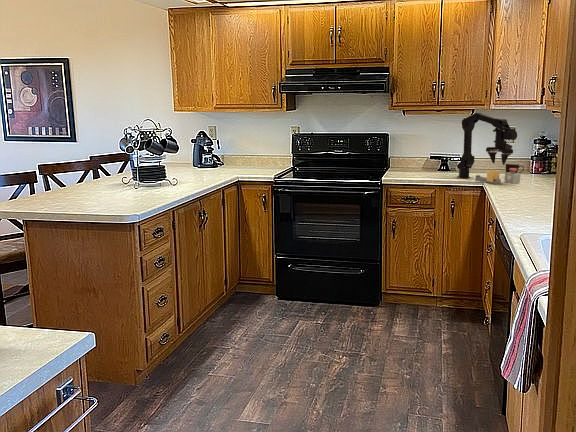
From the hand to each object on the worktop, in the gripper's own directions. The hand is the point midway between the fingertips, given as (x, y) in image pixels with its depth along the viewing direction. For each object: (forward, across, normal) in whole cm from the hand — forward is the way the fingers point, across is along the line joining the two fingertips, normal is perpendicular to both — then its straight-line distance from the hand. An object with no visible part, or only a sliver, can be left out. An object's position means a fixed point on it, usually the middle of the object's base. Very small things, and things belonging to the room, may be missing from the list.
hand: (498, 164), depth 375 cm
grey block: (+12, 0, -11) cm, 17 cm away
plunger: (+9, -1, -11) cm, 15 cm away
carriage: (+11, +1, +3) cm, 11 cm away
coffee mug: (+12, +13, -24) cm, 30 cm away
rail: (+12, +5, +3) cm, 14 cm away
